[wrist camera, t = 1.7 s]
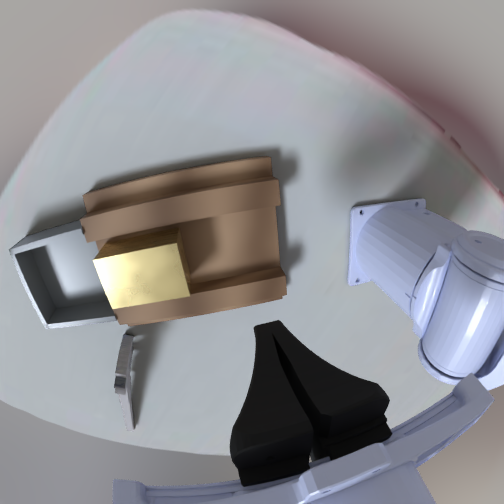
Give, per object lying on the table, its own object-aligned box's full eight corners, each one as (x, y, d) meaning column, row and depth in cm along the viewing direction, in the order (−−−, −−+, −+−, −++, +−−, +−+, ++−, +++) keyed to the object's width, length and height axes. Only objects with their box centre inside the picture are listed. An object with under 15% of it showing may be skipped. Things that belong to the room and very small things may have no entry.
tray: (94, 216, 19) (81, 228, 16) (123, 300, 22) (116, 320, 19) (25, 236, 18) (8, 249, 15) (56, 311, 21) (45, 328, 18)
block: (179, 227, 19) (176, 243, 17) (190, 275, 21) (190, 296, 18) (105, 243, 18) (93, 260, 16) (120, 287, 20) (112, 308, 18)
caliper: (124, 329, 24) (111, 377, 18) (134, 332, 24) (124, 380, 18) (127, 426, 31) (124, 460, 25) (134, 427, 31) (132, 462, 25)
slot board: (266, 156, 19) (276, 159, 17) (278, 291, 25) (287, 308, 22) (88, 192, 18) (74, 200, 15) (130, 318, 23) (125, 337, 21)
